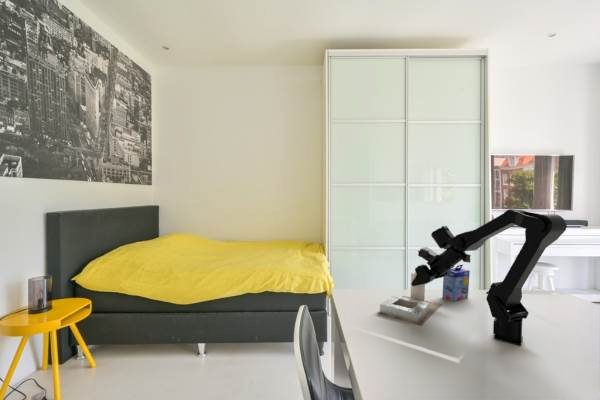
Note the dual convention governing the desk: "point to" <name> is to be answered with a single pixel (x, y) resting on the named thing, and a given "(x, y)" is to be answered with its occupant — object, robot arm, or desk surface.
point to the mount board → (433, 309)
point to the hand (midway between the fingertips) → (417, 282)
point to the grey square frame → (405, 308)
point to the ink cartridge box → (456, 284)
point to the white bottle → (417, 289)
